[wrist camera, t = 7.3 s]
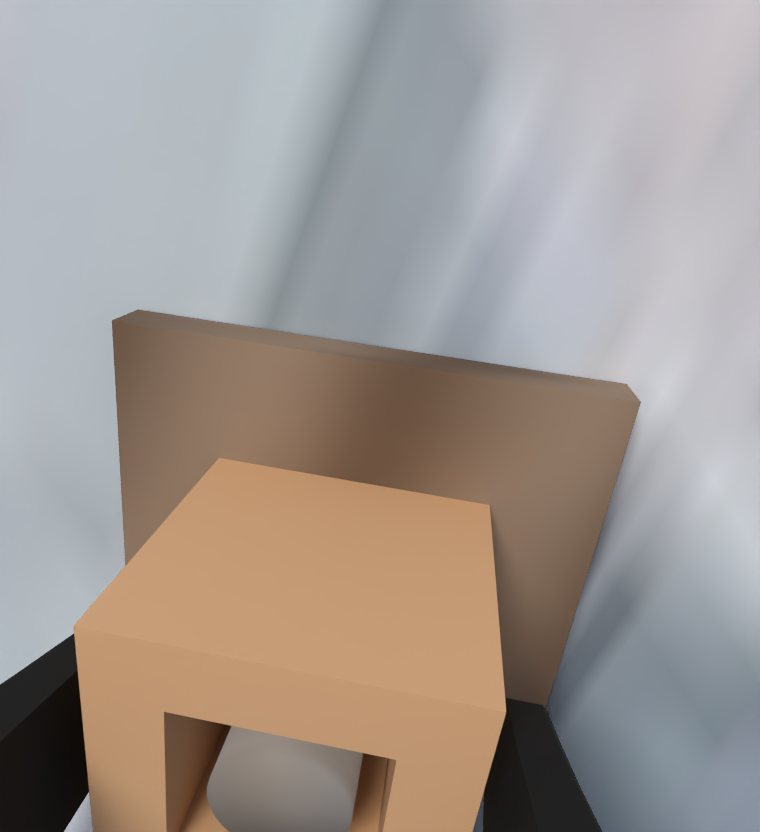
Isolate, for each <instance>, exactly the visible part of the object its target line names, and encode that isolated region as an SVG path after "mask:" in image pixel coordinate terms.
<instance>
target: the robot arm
mask: <svg viewBox="0 0 760 832" xmlns="http://www.w3.org/2000/svg"><path fill="white" fill-rule="evenodd" d="M88 792H89V784H88V773H87V763H86V752H85V742H84V731H83V721H82V710H81V700H80V689H79V679H78V668H77V658H76V647H75V636H74V634H73V635H71V636H70V637H68V638H67V639H65V640H64V641H63V642H61V643H60V644H58V645H57V646H55V647H54V648H53V649H51V650H50V651H48V652H47V653H45V654H44V655H43V656H41V657H40V658H38V659H37V660H35V661H34V662H33V663H31V664H30V665H28V666H27V667H25V668H24V669H22V670H21V671H20V672H18V673H17V674H15V675H14V676H12V677H11V678H9V679H8V680H6V681H5V682H3V683H2V684H1V685H0V832H64V830H65V829H66V827H67V826H68V824H69V823H70V821H71V819H72V818H73V816H74V815H75V813H76V811H77V810H78V808H79V807H80V805H81V803H82V802H83V800H84V799H85V797H86V795H87V794H88ZM483 832H602V830H601V828H600V826H599V824H598V822H597V820H596V818H595V816H594V814H593V812H592V810H591V808H590V806H589V804H588V802H587V800H586V798H585V796H584V794H583V792H582V790H581V787H580V785H579V783H578V781H577V779H576V777H575V774H574V772H573V770H572V768H571V766H570V764H569V761H568V759H567V757H566V755H565V752H564V750H563V748H562V745H561V743H560V741H559V739H558V736H557V734H556V731H555V729H554V727H553V724H552V722H551V719H550V717H549V714H548V712H547V710H546V709H545V707H544V706H543V705H541V704H536V703H530V702H525V701H520V700H515V699H510V698H506V715H505V719H504V722H503V726H502V729H501V733H500V736H499V740H498V743H497V747H496V750H495V754H494V757H493V761H492V764H491V768H490V771H489V775H488V779H487V782H486V786H485V789H484V813H483Z"/></svg>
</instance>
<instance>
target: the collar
mask: <svg viewBox="0 0 760 832" xmlns="http://www.w3.org/2000/svg"><path fill="white" fill-rule="evenodd" d="M74 636H75V647H76V658H77V668H78V679H79V689H80V700H81V710H82V721H83V731H84V742H85V752H86V763H87V773H88V784H89V794H90V805H91V816H92V826H93V832H229V831H228V830H226V829H225V828H224V827H223V826H222V825H221V824H220V822H219V821H218V820H217V818H216V817H215V815H214V814H213V812H212V810H211V808H210V806H209V803H208V799H207V785H208V781H209V778H210V776H211V774H212V771H213V769H214V766H215V764H216V762H217V759H218V757H219V755H220V752H221V750H222V747H223V745H224V743H225V740H226V738H227V736H228V733H229V731H230V728H231V726H235V727H240V728H245V729H250V730H254V731H259V732H264V733H269V734H274V735H279V736H283V737H288V738H293V739H298V740H303V741H307V742H312V743H317V744H322V745H327V746H332V747H336V748H341V749H346V750H351V751H356V752H361V753H363V758H362V764H361V770H360V776H359V782H358V787H357V793H356V799H355V805H354V810H353V816H352V822H351V826H350V829H349V831H348V832H472V831H473V828H474V824H475V821H476V817H477V814H478V810H479V807H480V803H481V800H482V796H483V793H484V789H485V786H486V782H487V779H488V775H489V771H490V768H491V764H492V761H493V757H494V754H495V750H496V747H497V743H498V740H499V736H500V733H501V729H502V726H503V722H504V719H505V715H506V702H505V690H504V677H503V665H502V652H501V639H500V627H499V614H498V602H497V589H496V577H495V564H494V552H493V539H492V527H491V514H490V505H486V504H480V503H475V502H469V501H463V500H457V499H452V498H446V497H440V496H435V495H429V494H423V493H417V492H412V491H406V490H400V489H394V488H389V487H383V486H377V485H371V484H366V483H360V482H354V481H349V480H343V479H337V478H331V477H326V476H320V475H314V474H308V473H303V472H297V471H291V470H285V469H280V468H274V467H268V466H263V465H257V464H251V463H245V462H240V461H234V460H228V459H222V458H218V460H217V461H216V462H215V463H214V464H213V465H212V467H211V468H210V469H209V470H208V471H207V472H206V473H205V475H204V476H203V477H202V478H201V479H200V480H199V482H198V483H197V484H196V485H195V486H194V487H193V489H192V490H191V491H190V492H189V493H188V494H187V495H186V497H185V498H184V499H183V500H182V501H181V502H180V504H179V505H178V506H177V507H176V508H175V509H174V510H173V512H172V513H171V514H170V515H169V516H168V517H167V519H166V520H165V521H164V522H163V523H162V524H161V526H160V527H159V528H158V529H157V530H156V531H155V532H154V534H153V535H152V536H151V537H150V538H149V539H148V541H147V542H146V543H145V544H144V545H143V546H142V548H141V549H140V550H139V551H138V552H137V553H136V554H135V556H134V557H133V558H132V559H131V560H130V561H129V563H128V564H127V565H126V566H125V567H124V568H123V569H122V571H121V572H120V573H119V574H118V575H117V576H116V578H115V579H114V580H113V581H112V582H111V583H110V585H109V586H108V587H107V588H106V589H105V590H104V591H103V593H102V594H101V595H100V596H99V597H98V598H97V600H96V601H95V602H94V603H93V604H92V605H91V606H90V608H89V609H88V610H87V611H86V612H85V613H84V615H83V616H82V617H81V618H80V619H79V620H78V622H77V623H76V624H75V625H74Z"/></svg>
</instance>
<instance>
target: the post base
mask: <svg viewBox="0 0 760 832" xmlns="http://www.w3.org/2000/svg"><path fill="white" fill-rule="evenodd" d="M112 329H113V347H114V366H115V384H116V402H117V420H118V438H119V456H120V475H121V493H122V511H123V529H124V547H125V565H127V564H128V563H129V561H130V560H131V559H132V558H133V557H134V556H135V554H136V553H137V552H138V551H139V550H140V549H141V548H142V546H143V545H144V544H145V543H146V542H147V541H148V539H149V538H150V537H151V536H152V535H153V534H154V532H155V531H156V530H157V529H158V528H159V527H160V526H161V524H162V523H163V522H164V521H165V520H166V519H167V517H168V516H169V515H170V514H171V513H172V512H173V510H174V509H175V508H176V507H177V506H178V505H179V504H180V502H181V501H182V500H183V499H184V498H185V497H186V495H187V494H188V493H189V492H190V491H191V490H192V489H193V487H194V486H195V485H196V484H197V483H198V482H199V480H200V479H201V478H202V477H203V476H204V475H205V473H206V472H207V471H208V470H209V469H210V468H211V467H212V465H213V464H214V463H215V462H216V461H217V460H218V458H222V459H228V460H234V461H240V462H245V463H251V464H257V465H263V466H268V467H274V468H280V469H285V470H291V471H297V472H303V473H308V474H314V475H320V476H326V477H331V478H337V479H343V480H349V481H354V482H360V483H366V484H371V485H377V486H383V487H389V488H394V489H400V490H406V491H412V492H417V493H423V494H429V495H435V496H440V497H446V498H452V499H457V500H463V501H469V502H475V503H480V504H486V505H490V514H491V527H492V539H493V552H494V564H495V577H496V589H497V602H498V614H499V627H500V639H501V652H502V665H503V677H504V690H505V702H506V698H510V699H515V700H520V701H525V702H530V703H536V704H541V705H543V706H544V707H545V709H546V706H547V702H548V699H549V696H550V693H551V690H552V686H553V683H554V680H555V677H556V673H557V670H558V667H559V664H560V661H561V657H562V654H563V651H564V648H565V644H566V641H567V638H568V635H569V632H570V628H571V625H572V622H573V619H574V615H575V612H576V609H577V606H578V603H579V599H580V596H581V593H582V590H583V586H584V583H585V580H586V577H587V574H588V570H589V567H590V564H591V561H592V557H593V554H594V551H595V548H596V545H597V541H598V538H599V535H600V532H601V528H602V525H603V522H604V519H605V516H606V512H607V509H608V506H609V503H610V499H611V496H612V493H613V490H614V487H615V483H616V480H617V477H618V474H619V470H620V467H621V464H622V461H623V458H624V454H625V451H626V448H627V445H628V441H629V438H630V435H631V432H632V429H633V425H634V422H635V419H636V416H637V412H638V409H639V406H640V403H641V402H640V401H639V399H638V398H637V397H636V396H635V394H634V393H633V392H632V390H631V389H630V388H629V387H628V385H627V384H621V383H615V382H608V381H602V380H595V379H589V378H582V377H576V376H569V375H562V374H556V373H549V372H543V371H536V370H530V369H523V368H517V367H510V366H503V365H497V364H490V363H484V362H477V361H471V360H464V359H458V358H451V357H445V356H438V355H431V354H425V353H418V352H412V351H405V350H399V349H392V348H386V347H379V346H372V345H366V344H359V343H353V342H346V341H340V340H333V339H327V338H320V337H313V336H307V335H300V334H294V333H287V332H281V331H274V330H268V329H261V328H255V327H248V326H241V325H235V324H228V323H222V322H215V321H209V320H202V319H196V318H189V317H182V316H176V315H169V314H163V313H156V312H150V311H143V310H136V311H134V312H131V313H129V314H127V315H124V316H122V317H119V318H117V319H114V320H112ZM362 758H363V753H361V752H356V751H351V750H346V749H341V748H336V747H332V746H327V745H322V744H317V743H312V742H307V741H303V740H298V739H293V738H288V737H283V736H279V735H274V734H269V733H264V732H259V731H254V730H250V729H245V728H240V727H235V726H231V728H230V731H229V733H228V736H227V738H226V740H225V743H224V745H223V747H222V750H221V752H220V755H219V757H218V759H217V762H216V764H215V766H214V769H213V771H212V774H211V776H210V778H209V781H208V785H207V799H208V803H209V806H210V808H211V810H212V812H213V814H214V815H215V817H216V818H217V820H218V821H219V822H220V824H221V825H222V826H223V827H224V828H225V829H226V830H228V831H229V832H348V831H349V829H350V826H351V822H352V816H353V810H354V805H355V799H356V793H357V787H358V782H359V776H360V770H361V764H362ZM482 801H484V793H483V796H482Z"/></svg>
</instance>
